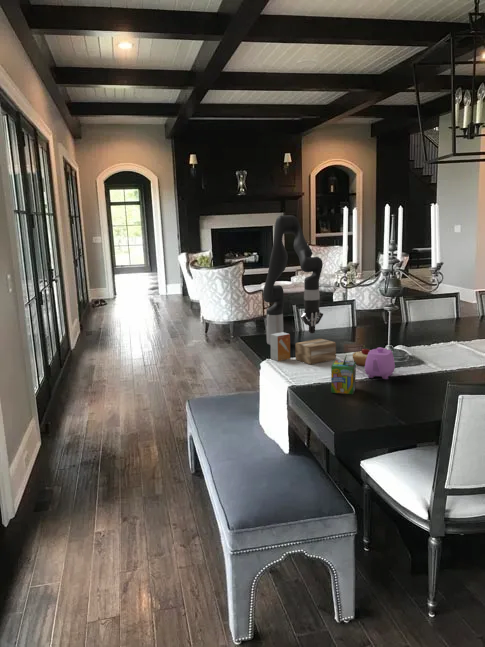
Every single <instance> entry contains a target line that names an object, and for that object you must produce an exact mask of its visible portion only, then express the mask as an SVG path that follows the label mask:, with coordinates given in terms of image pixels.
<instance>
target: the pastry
mask: <svg viewBox="0 0 485 647" xmlns="http://www.w3.org/2000/svg"><path fill="white" fill-rule="evenodd" d="M362 346H363V348H361V350H360V351H354V353H352V361H356V366H362V367H365V362H366V358H367V355H368V353H369V351H370V350H371V349H369V348H367V347H366V346H365V345H362Z"/></svg>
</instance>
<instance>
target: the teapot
mask: <svg viewBox="0 0 485 647" xmlns="http://www.w3.org/2000/svg"><path fill="white" fill-rule="evenodd" d="M369 350H370V351H369V353H368V355H367V358H366V362H365V366H364V372H365V374H366V375H367V377H368V378H370V379H372V378H373V379H374V377H381V378H382V379H383V380H389V377H390V376H391V375H393V373H394V372H395V368H396V365H395V359H394V354H393V351H392V350H391V349H388V348H386V347H385V348H384V347H383V346H382V347H380V346H379V347H376V348H373V349H369Z"/></svg>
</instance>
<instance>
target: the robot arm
mask: <svg viewBox="0 0 485 647" xmlns="http://www.w3.org/2000/svg"><path fill="white" fill-rule="evenodd" d="M273 232H274V235H273V245H272V248H271V255H270V257H269V264H268V270H267V276H266V279H265V282H264V287H263V291H262V299H263V301H264V302H265V303H273V304H272V305H271V306H269V307H268V308H267V309H266V327H265V329H266V330H265V331H266V334H265V335H266V343H267V345H269V346H271V345H270V334H275V333H281V332H284V304H285V303H284V302H285V300H284V297H285V292H284V288H283V286H282V285H280V284H276V283H277V282H276V281H277V280H278V279H279V277H280V276H281V275H282V274H283V272H284V271H285V270H286V267H287V264H288V260H289V257H288V256H289V255H288V252H287V249H286V247H285V246H284V243H283V242H284V241H283V238H284V234H287V235H288V234H292V235H294V240H293V249H294V252H295V253H296V255H297V256H298V259H299V260H298V261H299V266H300V269H301V271H302V272H304V273H311V275H309V276H307V277H305V278H304V284H303V285H304V290H303V291H304V292H303V309H304V312H303V314H302V315H300V319H301V320H302V322H303V323H304V325H305V326H308V332H309V333H310V334H315V332H316V325H318V324H319V323H320V321H321V320H322V318H323V316H324V313H322V312H321V311H320V307H321V306H320V305H321V304H320V298H321V297H320V295H321V294H320V278H321V274H322V271H323V266H324V264H323V260H322V258H321V257H319V256H313V251H312V249H311V247H310V246H309V244H308V242H307V240H306V238H305V236H304V233H303V229H302V228H301V224H300V221H299V219H298V217H296V216H295V215H293V214H291V215H290V214H289V215H287V214H286V215H279V216H277V218H276V219H275V223H274V231H273ZM312 256H313V257H312Z"/></svg>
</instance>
